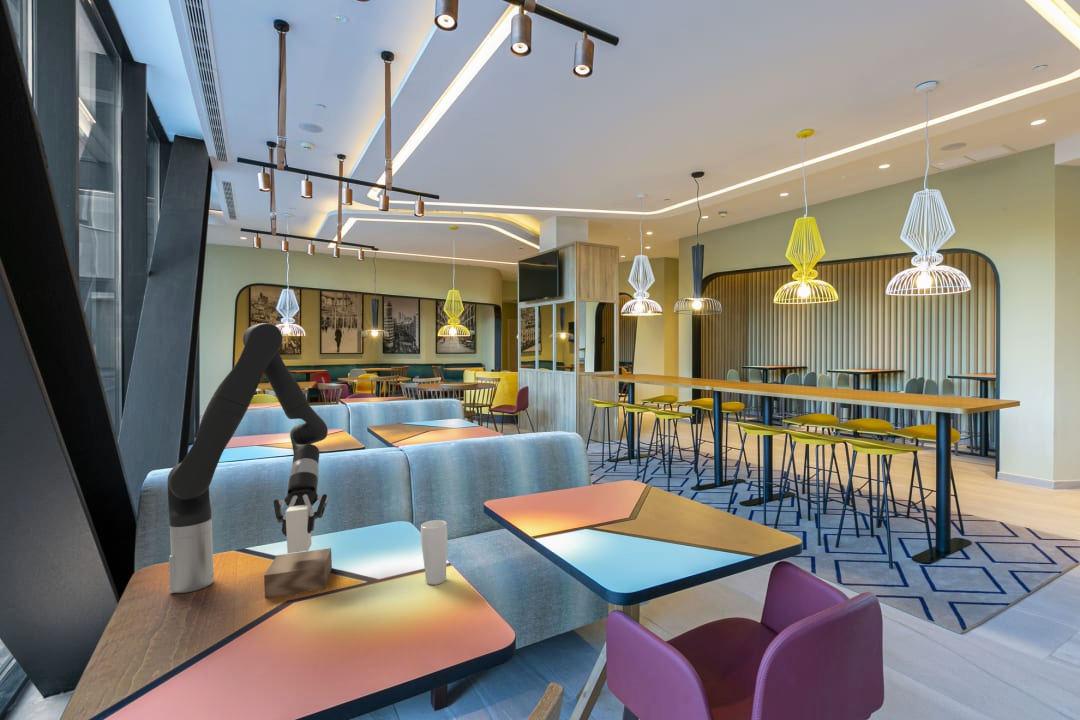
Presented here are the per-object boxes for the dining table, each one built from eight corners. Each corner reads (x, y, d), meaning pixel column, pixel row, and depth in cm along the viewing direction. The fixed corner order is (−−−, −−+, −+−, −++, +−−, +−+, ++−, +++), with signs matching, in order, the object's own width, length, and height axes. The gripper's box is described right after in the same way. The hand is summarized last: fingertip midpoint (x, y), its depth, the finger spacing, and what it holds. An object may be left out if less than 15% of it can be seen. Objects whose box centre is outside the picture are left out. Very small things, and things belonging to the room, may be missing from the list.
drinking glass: (443, 587, 126) (440, 528, 126) (418, 586, 128) (416, 527, 128) (453, 576, 133) (450, 520, 133) (429, 575, 134) (427, 519, 134)
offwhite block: (287, 553, 131) (285, 511, 131) (291, 546, 136) (289, 506, 136) (308, 550, 132) (306, 509, 132) (311, 544, 137) (309, 504, 137)
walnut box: (264, 599, 125) (264, 575, 125) (277, 576, 138) (276, 555, 138) (325, 590, 129) (324, 566, 129) (331, 569, 142) (331, 548, 142)
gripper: (273, 473, 139) (264, 530, 127) (328, 468, 143) (324, 522, 131) (279, 488, 144) (270, 544, 133) (332, 482, 148) (328, 536, 136)
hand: (297, 533), depth 132 cm, fingers closed on offwhite block, 5 cm apart
